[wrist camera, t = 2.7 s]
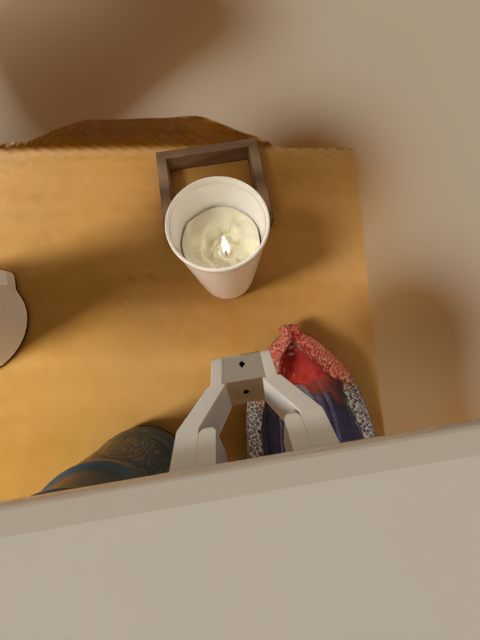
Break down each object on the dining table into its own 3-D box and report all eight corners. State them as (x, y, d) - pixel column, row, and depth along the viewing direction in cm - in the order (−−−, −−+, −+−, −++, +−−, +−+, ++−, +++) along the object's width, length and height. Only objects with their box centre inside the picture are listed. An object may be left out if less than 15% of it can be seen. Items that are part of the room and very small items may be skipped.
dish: (255, 575, 22) (259, 641, 17) (239, 330, 27) (238, 326, 22) (379, 566, 22) (419, 629, 17) (340, 323, 27) (362, 317, 22)
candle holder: (270, 269, 28) (291, 212, 16) (232, 317, 27) (224, 292, 15) (223, 235, 29) (210, 158, 17) (184, 279, 28) (142, 229, 16)
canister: (209, 450, 24) (124, 718, 7) (161, 552, 22) (-126, 1285, 5) (128, 406, 25) (-128, 536, 8) (76, 500, 23) (-412, 948, 6)
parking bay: (271, 227, 29) (273, 218, 27) (170, 243, 29) (164, 235, 27) (254, 150, 32) (255, 137, 30) (161, 164, 32) (156, 152, 30)
